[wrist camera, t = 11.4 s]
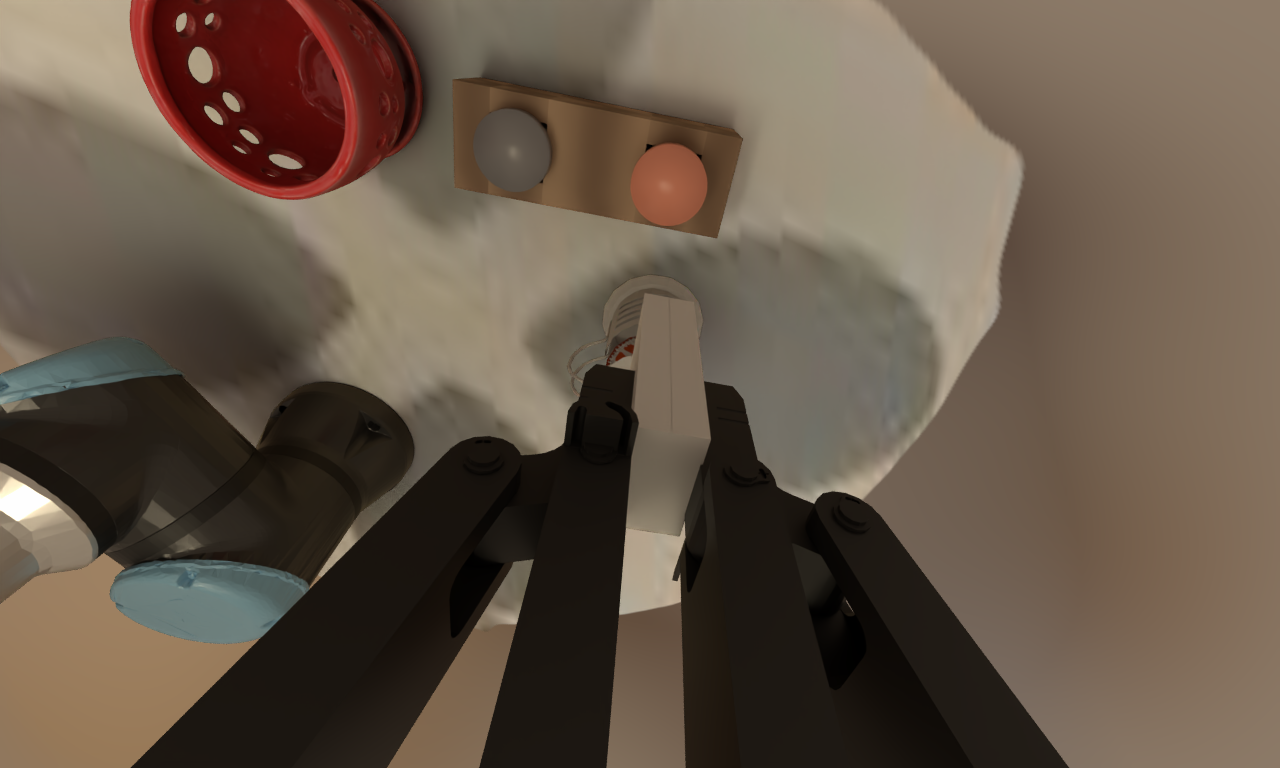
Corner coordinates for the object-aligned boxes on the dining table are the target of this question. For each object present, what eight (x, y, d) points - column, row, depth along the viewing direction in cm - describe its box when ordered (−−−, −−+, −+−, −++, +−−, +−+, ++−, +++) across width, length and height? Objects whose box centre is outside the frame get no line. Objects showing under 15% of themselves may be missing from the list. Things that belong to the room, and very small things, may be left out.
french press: (703, 365, 52) (726, 572, 30) (590, 368, 53) (537, 572, 31) (703, 272, 46) (731, 444, 25) (577, 277, 47) (504, 449, 26)
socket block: (479, 172, 43) (454, 187, 38) (480, 77, 39) (452, 79, 34) (711, 218, 44) (717, 238, 39) (733, 129, 40) (743, 139, 35)
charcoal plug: (501, 166, 42) (473, 184, 36) (503, 95, 39) (473, 101, 33) (563, 179, 42) (545, 198, 36) (569, 109, 40) (552, 117, 33)
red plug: (631, 195, 42) (624, 218, 36) (642, 126, 39) (637, 137, 33) (693, 207, 42) (697, 232, 36) (708, 139, 39) (716, 153, 33)
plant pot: (278, -71, 35) (119, -126, 25) (459, 43, 38) (383, 35, 28) (253, 114, 41) (119, 130, 31) (410, 199, 44) (334, 239, 34)
